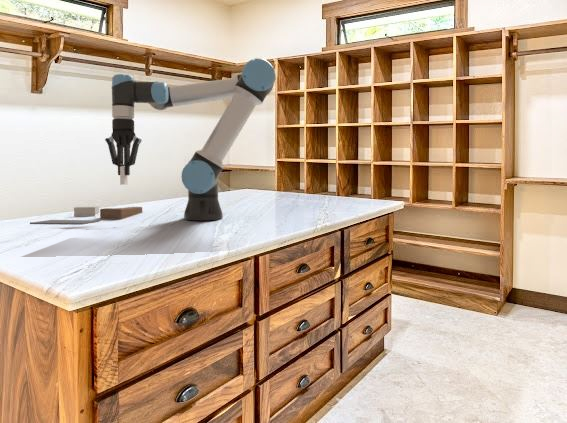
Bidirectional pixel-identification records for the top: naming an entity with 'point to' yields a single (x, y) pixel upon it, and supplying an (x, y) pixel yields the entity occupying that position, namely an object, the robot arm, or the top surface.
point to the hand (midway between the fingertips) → (123, 184)
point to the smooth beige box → (86, 211)
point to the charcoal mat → (65, 222)
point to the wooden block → (119, 212)
